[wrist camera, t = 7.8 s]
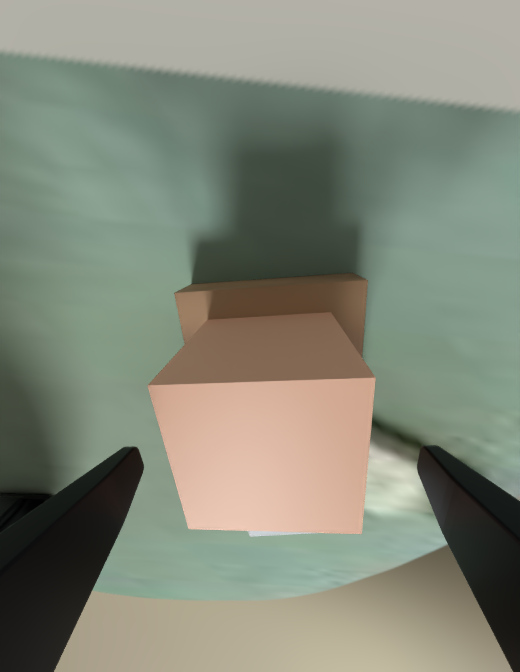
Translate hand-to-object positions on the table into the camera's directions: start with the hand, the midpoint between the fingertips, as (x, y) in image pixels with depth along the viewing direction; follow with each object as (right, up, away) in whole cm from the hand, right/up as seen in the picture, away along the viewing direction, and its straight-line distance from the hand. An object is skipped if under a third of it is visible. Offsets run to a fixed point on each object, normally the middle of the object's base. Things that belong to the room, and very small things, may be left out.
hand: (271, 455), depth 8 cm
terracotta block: (0, +2, +5) cm, 6 cm away
